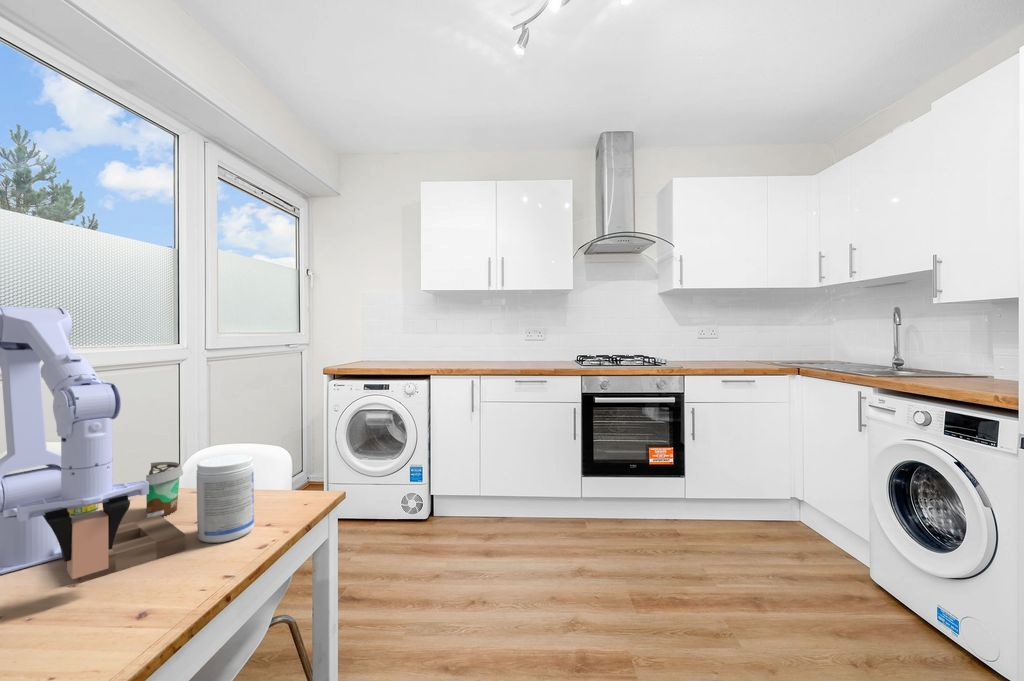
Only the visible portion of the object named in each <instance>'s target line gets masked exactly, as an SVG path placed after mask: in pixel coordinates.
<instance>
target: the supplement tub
mask: <svg viewBox="0 0 1024 681" xmlns="http://www.w3.org/2000/svg"><path fill="white" fill-rule="evenodd" d="M196 466H197V470H196V516H197V518H196V519H197V520H196V522H197V523H196V524H197V525H196V526H197V528H196V529H197V538H198V540H200V541H201V542H203V543H209V544H210V543H215V544H216V543H218V544H219V543H224V542H231V541H233V540H236V539H239V538H242V537H243V536H245V535H248V534H249V533H251V531H252V530H253V529H254V526H255V496H254V495H255V494H254V492H255V491H254V489H255V485H254V484H255V483H254V482H255V481H254V475H255V474H254V463H253V457H252V456H251V455H248V454H226V455H225V454H224V455H218V456H214V457H210V458H209V457H208V458H205V459H203V460H201V461H199V462H198V463H197V464H196Z"/></svg>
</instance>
